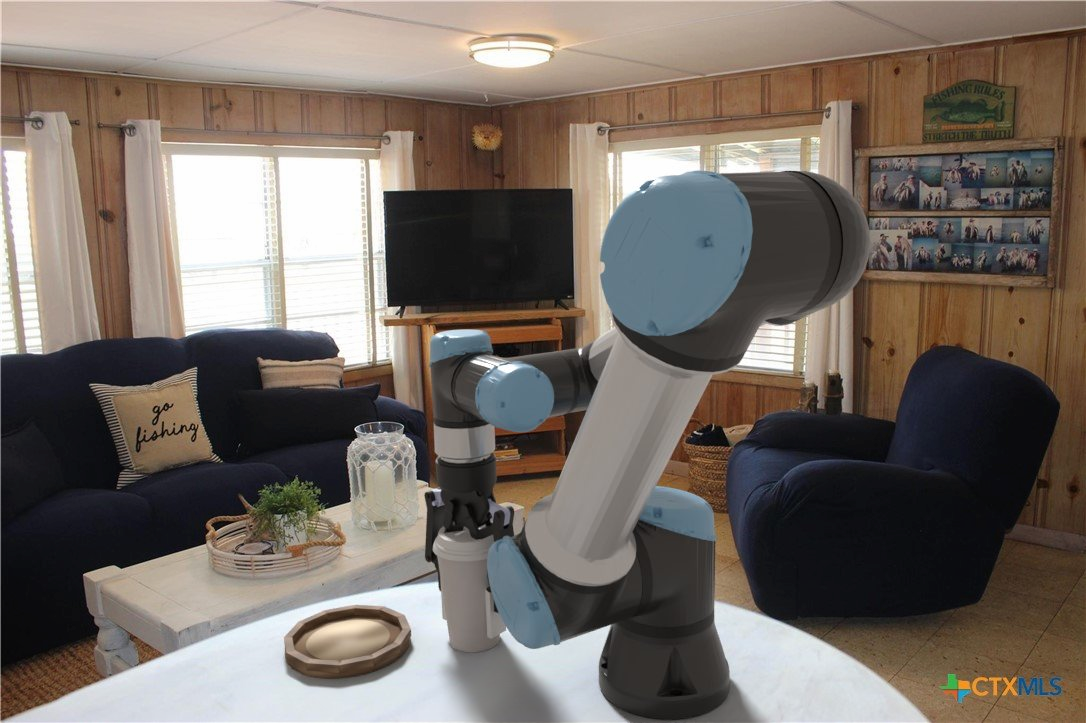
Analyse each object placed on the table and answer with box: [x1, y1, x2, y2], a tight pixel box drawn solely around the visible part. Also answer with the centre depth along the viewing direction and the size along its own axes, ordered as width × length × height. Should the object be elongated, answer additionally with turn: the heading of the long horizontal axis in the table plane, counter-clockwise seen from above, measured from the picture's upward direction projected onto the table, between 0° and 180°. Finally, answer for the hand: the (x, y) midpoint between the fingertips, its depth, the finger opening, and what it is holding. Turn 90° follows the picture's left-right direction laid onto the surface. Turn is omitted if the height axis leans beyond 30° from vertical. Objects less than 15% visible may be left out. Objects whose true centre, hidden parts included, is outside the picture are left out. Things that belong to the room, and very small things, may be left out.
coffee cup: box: [433, 524, 501, 653], centre depth 115 cm, size 10×10×15 cm
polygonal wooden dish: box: [283, 604, 412, 680], centre depth 116 cm, size 16×16×2 cm
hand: (473, 624), depth 116 cm, fingers closed on coffee cup, 7 cm apart
